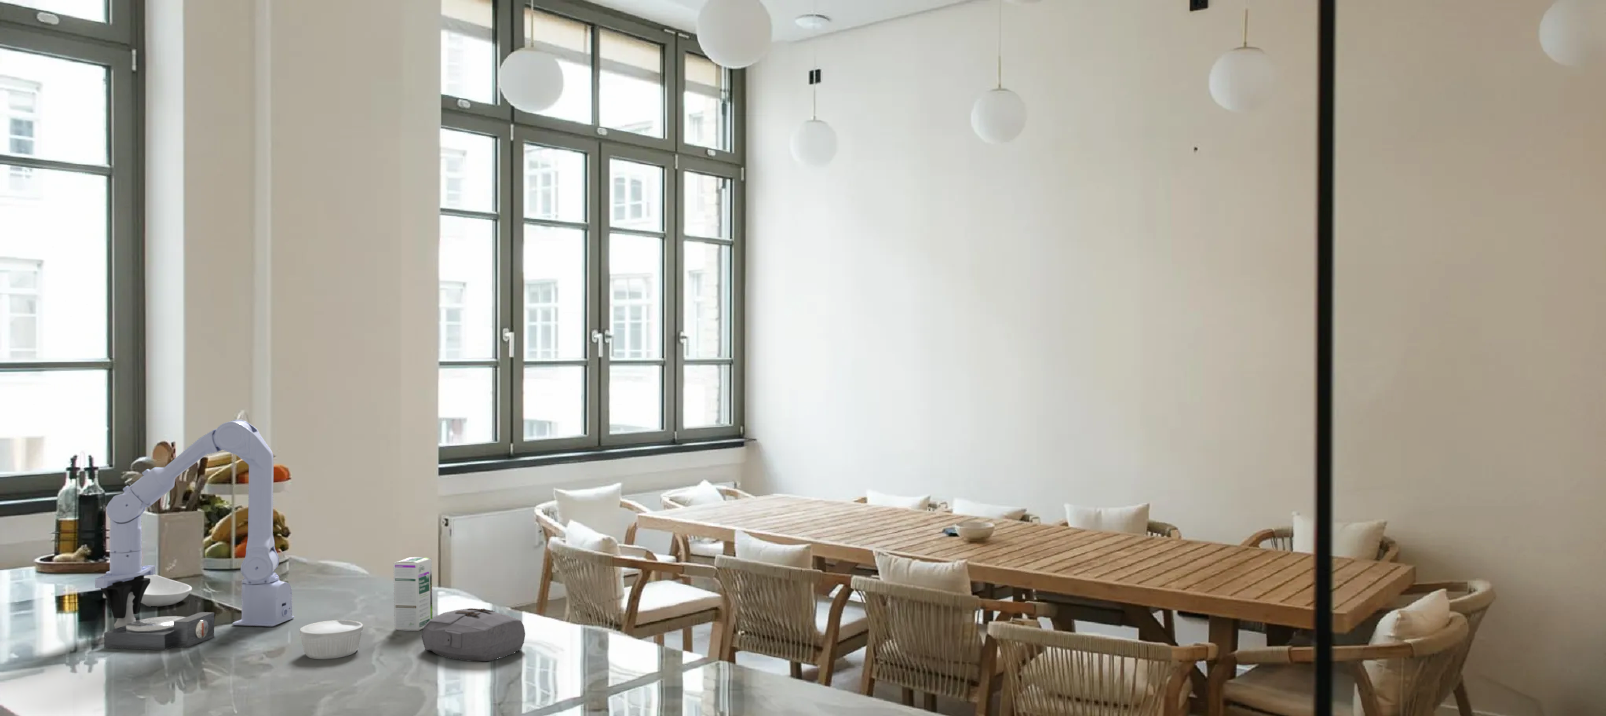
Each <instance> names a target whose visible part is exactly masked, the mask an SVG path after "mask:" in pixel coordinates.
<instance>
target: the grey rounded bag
mask: <svg viewBox="0 0 1606 716" xmlns="http://www.w3.org/2000/svg"><path fill="white" fill-rule="evenodd" d="M432 617H433V618H432V619H431V620H430V621H428V622H427V623H426V625H425V626H424V628H423V629H422V633H421V641H422V642H423V647H424V650H425V651H431V652H433V653H435V654H436V655H438V656H441V657H445V658H448V657H449V659H453V658H454V659H453V660H460V659H462V661H467V660H472V661H473V662H474V661H475V662H476V661H478V662H481V661H482V662H483V661H484V662H485V661H487V662H488V661H490V662H491V661H495V660H494V659H496V660H498V659H497V658H499V657H503V658H505V657H504V656H506V655H509V654H512V653H514V652H516V651H517V652H518V650H519V651H520V650H521V649H522V648H523V646H524V643H525V638H526V631H525V630H526V629H525V625H524V624H523V622H522V620H521V619H520V620H519V619H518V618H515V617H513V616H511V615H507V614H503V613H499V612H496V611H495V610H492V609H491V610H490V609H485V608H474V607H473V608H471V607H470V608H463V609H456V610H451V611H447V612H443V613H440V614H438V615H436V616H432ZM517 652H516V653H517ZM514 654H515V653H514ZM512 655H513V654H512ZM509 656H510V655H509ZM506 657H507V656H506ZM472 661H471V662H472Z"/></svg>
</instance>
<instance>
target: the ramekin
mask: <svg viewBox="0 0 1606 716" xmlns="http://www.w3.org/2000/svg"><path fill="white" fill-rule="evenodd" d="M363 629H364V624H363V623H362V622H360V621H356V620H349V619H348V620H347V619H333V620H324V621H318V622H317V621H316V622H314V623H309V624H306V625H304V626H302V627H300V628H299V636H300V637H301V643H302V649H303V653H304V655H305V656H306V657H307V658H310V659H313V660H314V659H315V660H331V659H339V658H344V657H347V656H351V655H354V654H356V652H357V650H359V648H360V647H359V646H360V641H361V636H362V631H363Z"/></svg>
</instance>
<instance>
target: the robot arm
mask: <svg viewBox="0 0 1606 716" xmlns="http://www.w3.org/2000/svg"><path fill="white" fill-rule="evenodd" d="M221 451H225V452H227V453H230V454H233V455H235V456H237V457H238V458H239V459H240V460H242V461H243V462H245V464H247V465H248V511H247V513H248V517H247V522H248V523H247V525H248V526H247V543H246V545H245V546H246V548H245V557H244V559H243V561H242V562H241V564H240V573H241V575H242V577H243V578H242V579H241V618H240V619H239V620H236V621H234V622H232V626H246V627H247V626H250V627H251V626H252V627H253V626H254V627H255V626H256V627H275V626H278V625H280V624H282V623H285V622H287V621H289V620H292V619H294V618H295V615H293V590H292V589H293V588H292V586H291V584H290V583H288V582H286V581H282V580H280V576H279V575H278V574H277V573H276V572H275V570H277V568H278V566H279V564H280V556H279V554H278V552H277V550H276V547H275V546H276V545H275V544H276V543H275V537H274V533H273V532H274V463H275V462H274V459H275V458H274V457H275V456H274V453H273V451H272V449H271V448H270V446H269V445H268V444H267V441H266V440H265V439H264V438H263V437H262V435H261V433H260V431H259V429H258V428H257V427H255V426H254V425H252V424H251V423H250V422H248V421H246V420H244V419H233V420H231V421H226V422H223V423H221V424H220V425H218V427H217V428H214V429H212V430H211V431H209V432H207V433H206V434H204V435H202V436H201V437H199V438H198V439H197V440H195V441H194V442H192V444H190V445H189V446H188V447H187V448H186V449H185V450H183V451H182V452H180V453H179V454H178V456H176V457H175V458H174V459H173V460H172V461H171V462H169V463H168V464H166V466H163V467H159V466H158V467H157V466H155V467H153V468H151V469H149V468H147V469H145V470H144V471H142V472H141V474H142V476H140V478H139V479H137V480H135V482H132V484H131V485H130V486H129V485H126V486H125V487H123V488H122V491H123V493H121V494H116V495H114V496H113V497H112V498H111V499H110V501H109V502H108V503H107V505H106V514H107V516H108V518H109V519H110V520H109V522H110V523H109V525H110V527H109V571H106V572H105V574H104V575H102V576H99V577H96V578H94V588H95V589H100V591H101V592H102V594H103V593H104V594H105V596H106V598H105V599H106V600H107V601H108V604H109V606H110V609H111V613H112V616H113V619H118V618H125V615H126V607H127V599H128V595H129V593H130V592H133V595H134V596H135V598H134V599H133V601H132V602H133V604H134V605H133V614H134V615H137V614H138V613H139V610H140V606H141V604H142V603H141V600H142V597H143V595H144V592H145V590H146V588H147V587H148V585H149V584H150V578H144V576H147V575H154V574H155V575H156V573H155V572H156V565H150V564H149V565H148V564H147V565H142V564H143V563H142V562H143V560H142V559H143V553H142V552H143V547H142V546H143V545H142V543H143V541H142V539H143V535H142V534H143V532H142V531H143V528H142V515H143V514H144V512H145V510H146V508H150V507H151V506H152V505H154V504H155V503H156V502H157V501H158V500H160V499H162V497H163V496H165V495H166V494H167V493H169V492H170V491H172V490H173V489H174V488H175V486H176V485H175V484H176V483H175V482H176V479H177V478H178V477H179V476H180V475H181V474H182V473H184V472H185V471H187V470H188V469H189V468H191V467H193V466H194V465H195V464H196V463H197V462H199V461H200V460H201V459H203V458H204V457H206V456H207V455H210V454H215V453H219V452H221Z"/></svg>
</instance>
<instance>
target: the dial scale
mask: <svg viewBox="0 0 1606 716" xmlns="http://www.w3.org/2000/svg"><path fill="white" fill-rule="evenodd" d="M103 634H104V635H103V639H104V641H103V642H104V643H103V648H105V649H128V650H155V651H156V650H158V651H160V650H161V651H167V650H169V649H171V648H189V647H191V646H194V645H197V644H199V643H202V642H205V641H208V640H210V639H212V638H215V612H211V611H210V612H208V611H206V612H205V611H200V612H197V613H195V614H194V613H193V614H192V615H189V616H180V615H179V616H177V615H171V616H156V617H155V616H150V617H147V618H143V619H138V620H136V621H134V622H131V623H129V624H127V625H126V626H123V627H120V628H117V629H115V628H114V629H111V630H109V631H108V630H107V631H105V632H103Z"/></svg>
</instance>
